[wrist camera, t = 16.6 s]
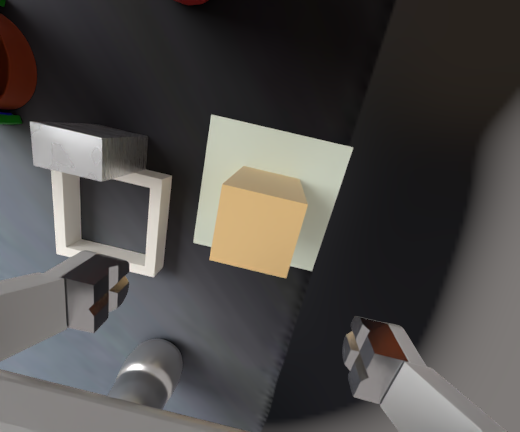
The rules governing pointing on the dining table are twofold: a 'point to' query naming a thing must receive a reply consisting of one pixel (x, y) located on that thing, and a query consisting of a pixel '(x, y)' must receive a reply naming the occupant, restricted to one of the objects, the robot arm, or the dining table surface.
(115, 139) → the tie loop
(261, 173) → the tan rectangular block
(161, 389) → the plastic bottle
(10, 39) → the motor
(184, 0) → the plastic cup
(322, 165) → the pad
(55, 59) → the dining table surface
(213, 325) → the dining table surface
